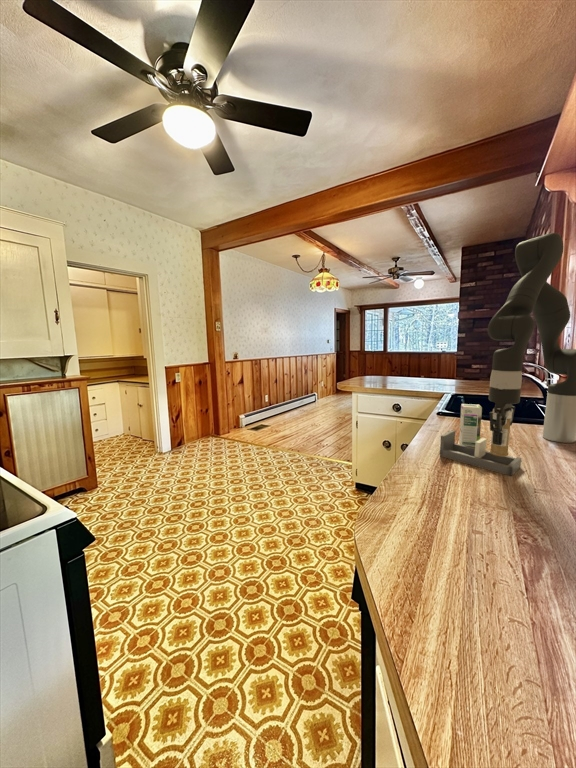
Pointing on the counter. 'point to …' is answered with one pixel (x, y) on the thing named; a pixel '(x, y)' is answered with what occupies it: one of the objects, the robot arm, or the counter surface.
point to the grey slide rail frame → (467, 456)
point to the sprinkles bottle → (503, 448)
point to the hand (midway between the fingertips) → (499, 442)
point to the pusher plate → (480, 448)
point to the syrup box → (470, 424)
